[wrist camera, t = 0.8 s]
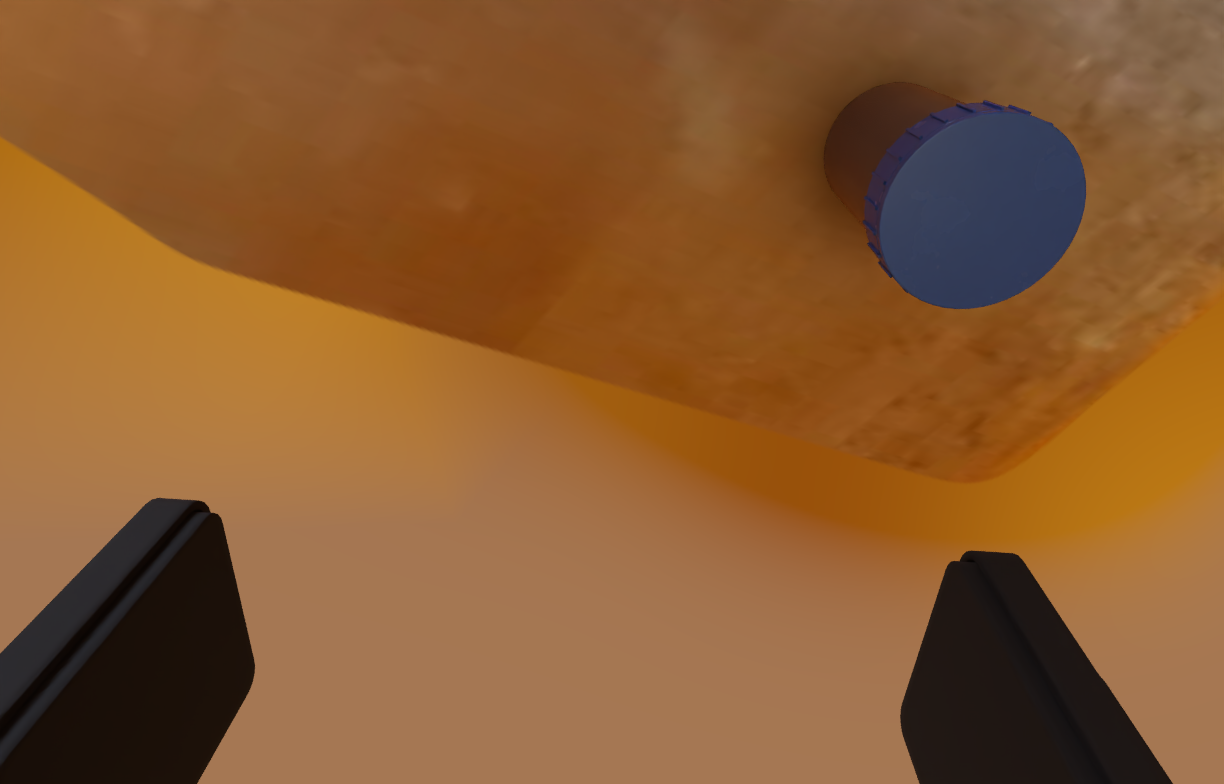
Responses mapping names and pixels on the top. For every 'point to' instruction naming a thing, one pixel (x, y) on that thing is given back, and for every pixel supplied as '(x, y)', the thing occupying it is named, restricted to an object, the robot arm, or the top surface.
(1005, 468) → the top surface
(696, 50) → the top surface
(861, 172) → the jar
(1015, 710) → the robot arm
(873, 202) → the jar lid
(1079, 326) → the top surface
